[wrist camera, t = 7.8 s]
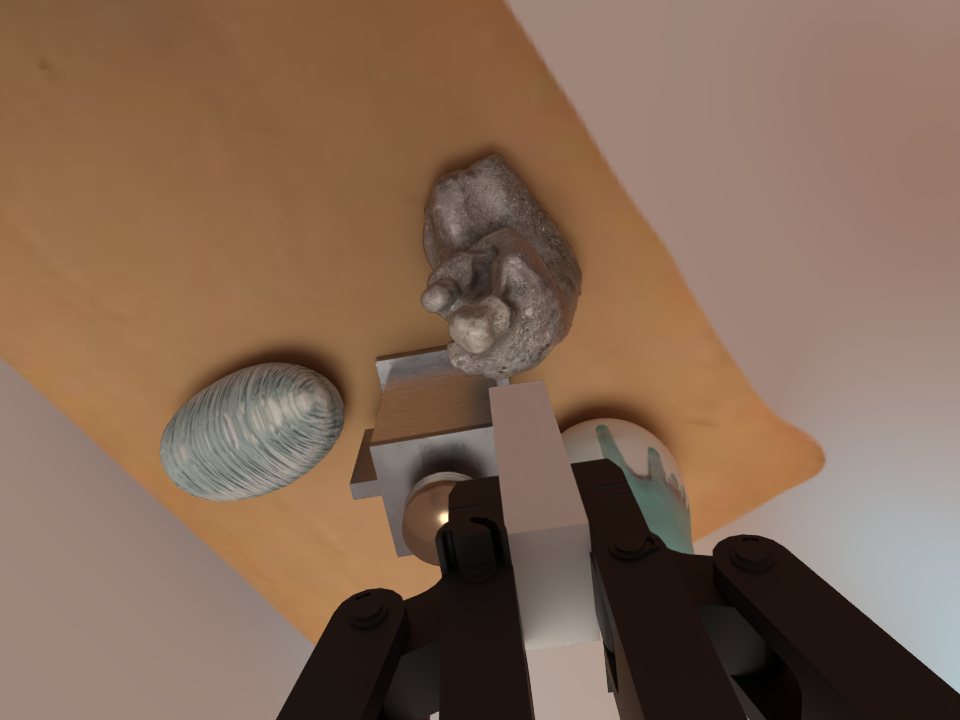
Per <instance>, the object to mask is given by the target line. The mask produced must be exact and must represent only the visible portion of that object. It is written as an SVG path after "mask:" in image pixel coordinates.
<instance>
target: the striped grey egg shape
mask: <svg viewBox="0 0 960 720" xmlns="http://www.w3.org/2000/svg"><path fill="white" fill-rule="evenodd" d="M343 424H344V405H343V401H342V398H341V396H340V394H339V392H338V390H337V389H336V387H335V386H334V385H333V384H332V383H331V382H330V381H329V380H328V379H327V378H326V377H324V376H323V375H321V374H319V373H317V372H315V371H313V370H311V369H308V368H306V367H303V366H300V365H297V364H290V363H283V362H278V363H274V362H269V363H264V364H259V365H254V366H250V367H246V368H243V369H240V370H238V371H235V372H233V373H231V374H229V375H227V376H225V377H223V378H221V379H219V380H218V381H216V382H214V383H213V384H211V385H210V386H208V387H206V388H205V389H203V390H202V391H200V392H199V393H197V394H196V395H195V396H194V397H192V398H191V399H190V400H189V401H187V402H186V403H185V404H184V405H183V406H182V407H181V408H180V409H179V410H178V411H177V412H176V413H175V415H174V416H173V418H172V419H171V420H170V422H169V423H168V424H167V426H166V428H165V430H164V432H163V435H162V438H161V445H160V457H161V462H162V465H163V468H164V470H165V472H166V474H167V475H168V477H169V478H170V479H171V480H172V481H173V482H174V483H175V484H176V486H177V487H179V488H180V489H182V490H184V491H185V492H187V493H189V494H191V495H193V496H197V497H200V498H204V499H208V500H213V501H238V500H243V499H248V498H253V497H258V496H261V495H265V494H267V493H270V492H273V491H275V490H278V489H280V488H283V487H285V486H287V485H289V484H291V483H292V482H294V481H295V480H297V479H298V478H300V477H301V476H302V475H304V474H306V473H307V472H309V471H310V470H311V469H312V468H313V467H314V466H316V465H317V464H318V463H319V462H320V461H321V460H322V459H323V458H324V457H325V456H326V455H327V453H328V452H329V451H330V450H331V449H332V447H333V445H334V444H335V442H336V440H337V439H338V437H339V436H340V433H341V430H342V428H343Z"/></svg>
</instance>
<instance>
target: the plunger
mask: <svg viewBox="0 0 960 720" xmlns="http://www.w3.org/2000/svg"><path fill="white" fill-rule="evenodd" d="M471 479H472V478H470V477H469V476H466V475H464V474H460V473H455V472H440V473H435V474H432V475H429V476H427V477H425V478H423V479H422V480H420V481H419V482H418V483H416V484H415V485H414V486H413V488H412V489H411V490H410V492H409V493H408V495H407V498H406V501H405V507H404V514H403V522H402V535H403V539H404V542H405V543H406V545H407V547H408V548H409V550H410V551H411V552H412V553H413V554H414V555H415V556H416V557H418V558H419V559H421V560H422V561H424V562H426V563H429V564H432V565H436V566H440V563H439V558H438V553H437V548H436V543H435V537H436V534H437V531H438V530H439V529H440V528H441V527H442V526H443V525H444V524H445V523H446V522H448V511H449V510H448V495H449V493H450V492H451V490H452V489H453V487H454V486H455V484H456V483H457V481H464V480H471Z"/></svg>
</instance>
